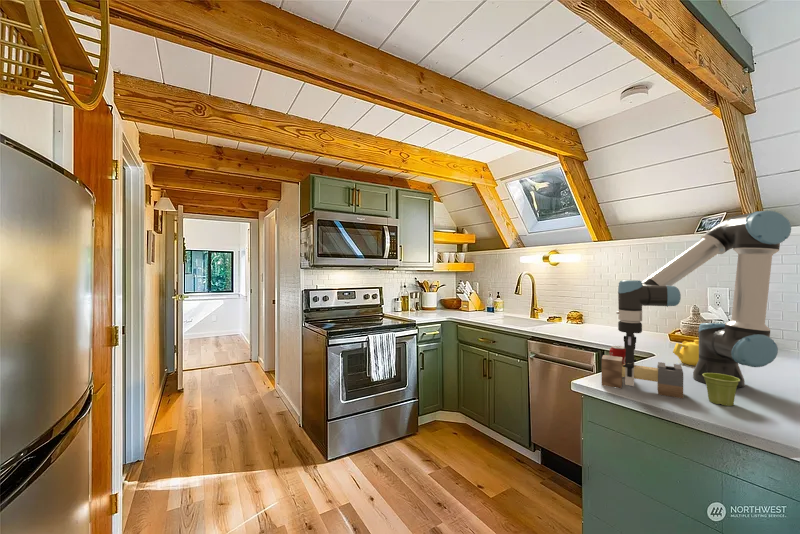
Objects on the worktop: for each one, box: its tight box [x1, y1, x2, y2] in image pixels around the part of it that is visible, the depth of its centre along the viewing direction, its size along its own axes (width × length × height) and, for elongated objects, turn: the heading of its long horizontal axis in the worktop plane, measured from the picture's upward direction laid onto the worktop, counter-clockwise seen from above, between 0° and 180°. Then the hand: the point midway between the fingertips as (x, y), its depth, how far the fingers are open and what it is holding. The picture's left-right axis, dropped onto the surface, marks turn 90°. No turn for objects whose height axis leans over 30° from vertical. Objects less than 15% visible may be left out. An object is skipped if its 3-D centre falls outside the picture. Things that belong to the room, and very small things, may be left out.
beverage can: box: [609, 345, 626, 379], centre depth 148 cm, size 6×6×12 cm
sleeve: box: [656, 361, 684, 400], centre depth 128 cm, size 7×7×10 cm
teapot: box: [672, 339, 699, 367], centre depth 169 cm, size 20×18×11 cm
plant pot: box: [702, 373, 740, 407], centre depth 119 cm, size 9×9×9 cm
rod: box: [622, 364, 658, 383], centre depth 133 cm, size 16×4×4 cm, turn 56°
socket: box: [601, 354, 623, 390], centre depth 138 cm, size 6×7×10 cm
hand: (629, 381), depth 134 cm, fingers open, 8 cm apart
